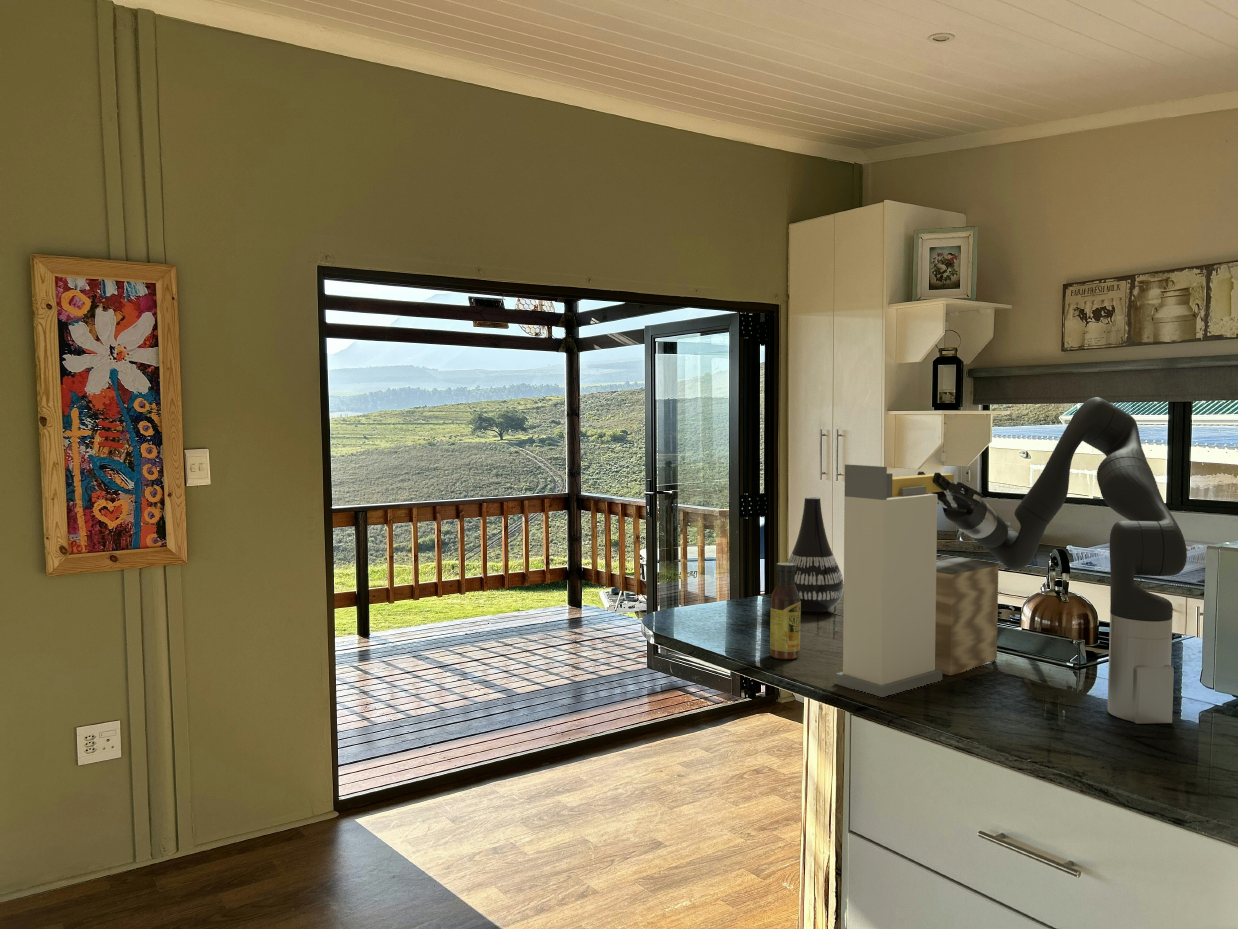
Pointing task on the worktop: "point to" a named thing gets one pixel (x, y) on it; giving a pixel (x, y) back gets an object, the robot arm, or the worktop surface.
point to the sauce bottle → (785, 614)
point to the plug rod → (913, 483)
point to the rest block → (965, 614)
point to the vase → (815, 563)
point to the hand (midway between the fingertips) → (927, 476)
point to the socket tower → (888, 585)
